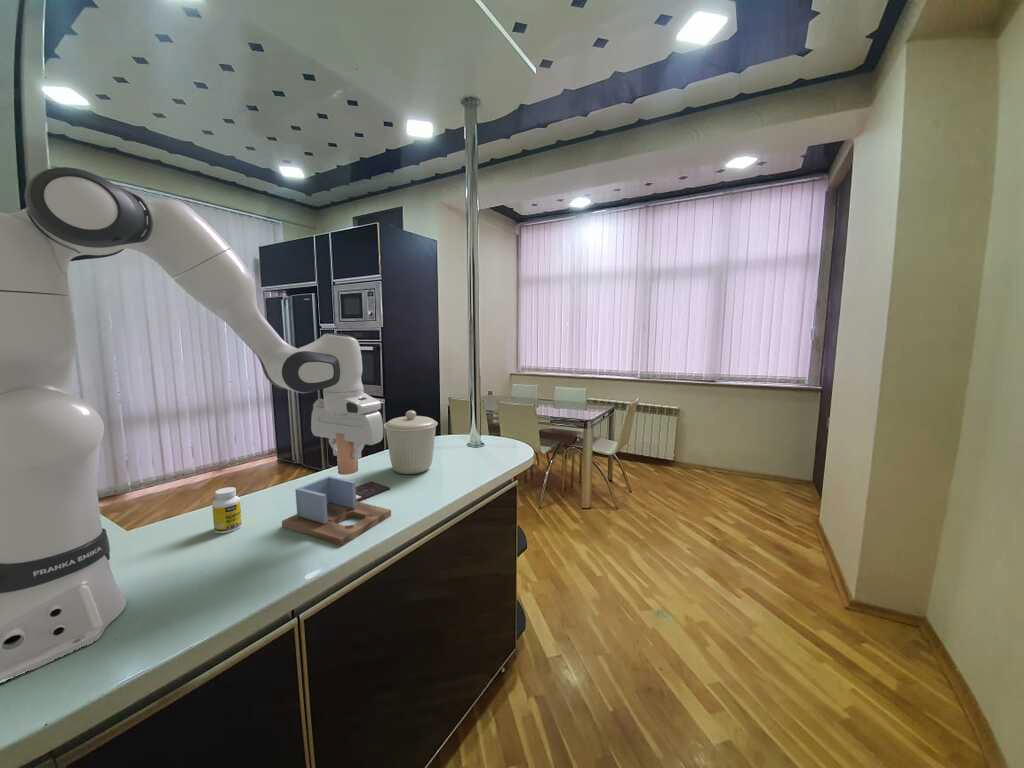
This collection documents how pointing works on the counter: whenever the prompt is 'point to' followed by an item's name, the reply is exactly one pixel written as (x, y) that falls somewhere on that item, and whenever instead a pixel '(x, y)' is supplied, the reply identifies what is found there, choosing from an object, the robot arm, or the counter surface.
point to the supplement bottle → (226, 510)
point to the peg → (345, 456)
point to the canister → (411, 442)
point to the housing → (324, 497)
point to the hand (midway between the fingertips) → (347, 457)
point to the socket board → (336, 515)
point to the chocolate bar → (369, 490)
